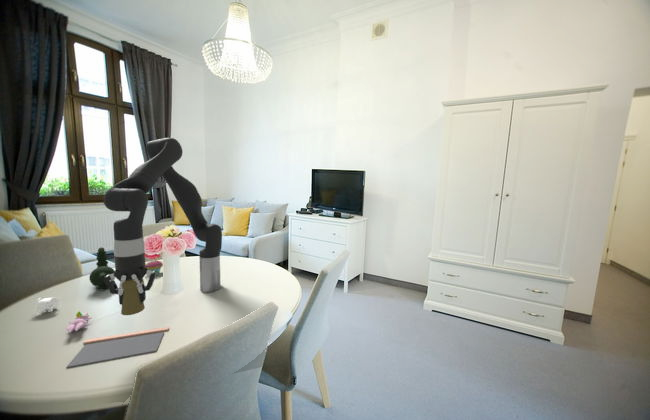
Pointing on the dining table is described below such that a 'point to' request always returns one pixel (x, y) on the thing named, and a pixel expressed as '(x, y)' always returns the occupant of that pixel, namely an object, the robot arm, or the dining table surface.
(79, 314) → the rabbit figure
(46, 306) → the elephant figurine
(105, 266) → the dark green rounded piece
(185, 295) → the dining table surface
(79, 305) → the dining table surface
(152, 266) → the cupcake
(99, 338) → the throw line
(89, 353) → the mat
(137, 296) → the cork
